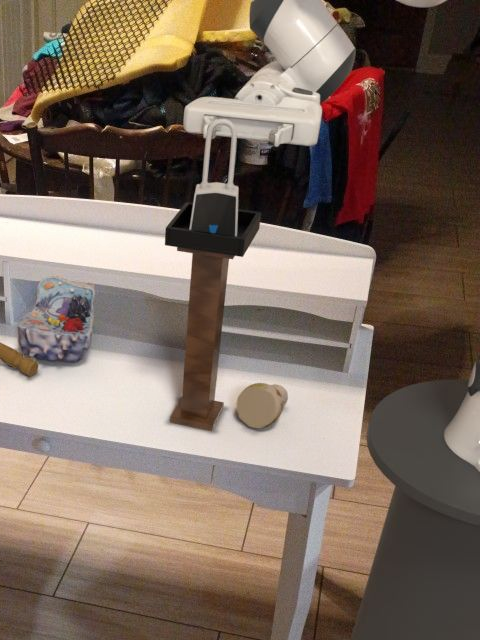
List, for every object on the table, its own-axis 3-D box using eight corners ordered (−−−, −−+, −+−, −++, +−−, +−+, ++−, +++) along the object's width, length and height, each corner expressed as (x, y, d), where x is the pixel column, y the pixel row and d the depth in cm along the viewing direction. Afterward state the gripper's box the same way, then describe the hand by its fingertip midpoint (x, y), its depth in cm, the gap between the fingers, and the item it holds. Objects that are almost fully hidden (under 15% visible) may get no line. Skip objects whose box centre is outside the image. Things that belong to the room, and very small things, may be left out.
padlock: (188, 236, 118) (195, 122, 108) (190, 225, 121) (198, 113, 112) (236, 239, 117) (248, 125, 108) (237, 227, 120) (249, 115, 111)
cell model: (101, 272, 157) (92, 316, 141) (96, 326, 163) (88, 374, 147) (30, 265, 157) (14, 308, 141) (29, 320, 163) (13, 367, 147)
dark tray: (259, 229, 121) (261, 212, 120) (242, 257, 114) (245, 239, 113) (185, 218, 124) (186, 201, 123) (164, 245, 117) (165, 227, 116)
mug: (298, 407, 141) (305, 378, 132) (262, 449, 139) (267, 423, 130) (261, 382, 143) (265, 352, 134) (225, 424, 141) (227, 397, 132)
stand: (226, 407, 141) (247, 230, 121) (214, 433, 135) (233, 252, 115) (180, 397, 143) (193, 222, 123) (166, 423, 137) (177, 244, 118)
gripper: (198, 81, 132) (171, 105, 122) (331, 94, 126) (315, 120, 116) (195, 124, 136) (169, 151, 126) (323, 138, 130) (307, 167, 121)
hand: (240, 136), depth 121 cm, fingers open, 8 cm apart
